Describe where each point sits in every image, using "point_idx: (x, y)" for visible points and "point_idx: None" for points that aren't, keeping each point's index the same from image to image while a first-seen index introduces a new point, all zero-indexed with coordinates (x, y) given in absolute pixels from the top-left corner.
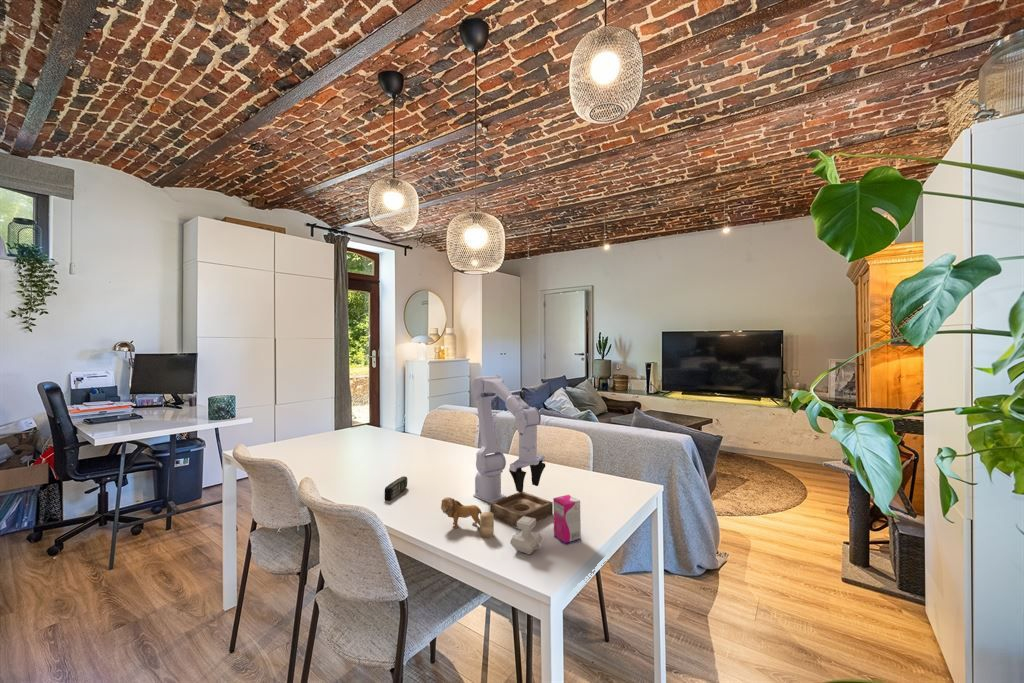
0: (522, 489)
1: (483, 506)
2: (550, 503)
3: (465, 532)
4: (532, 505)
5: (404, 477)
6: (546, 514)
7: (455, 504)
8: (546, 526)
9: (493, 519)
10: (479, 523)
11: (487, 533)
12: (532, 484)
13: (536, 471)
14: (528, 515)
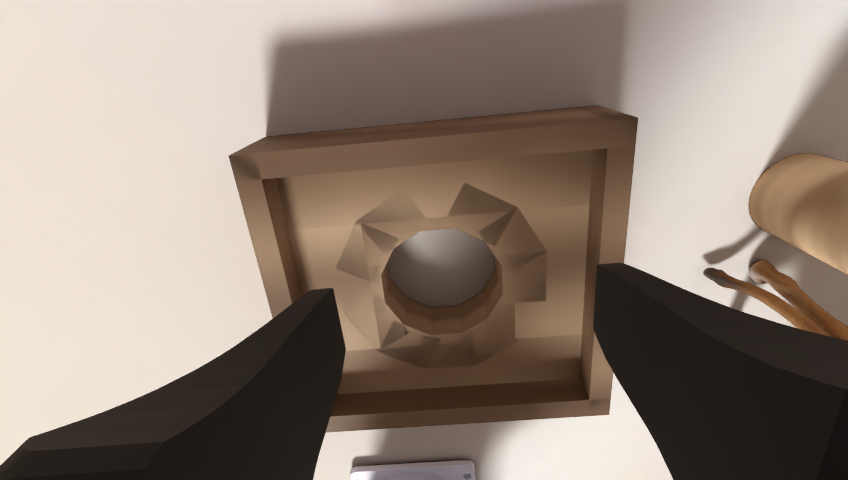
0: (625, 270)
1: (523, 453)
2: (257, 153)
3: (832, 293)
4: (357, 261)
5: None
6: (327, 134)
7: None
8: (430, 22)
9: None
10: (797, 286)
11: None
12: (345, 348)
13: (273, 440)
14: (541, 124)
